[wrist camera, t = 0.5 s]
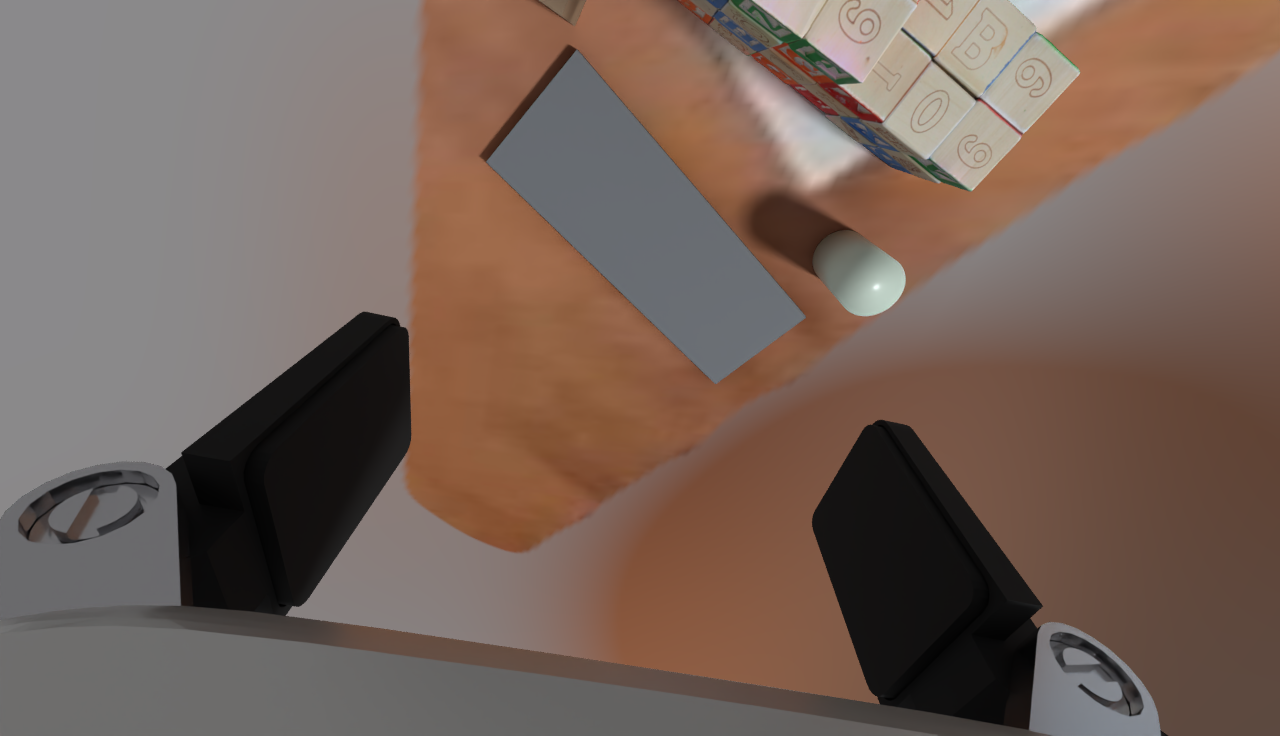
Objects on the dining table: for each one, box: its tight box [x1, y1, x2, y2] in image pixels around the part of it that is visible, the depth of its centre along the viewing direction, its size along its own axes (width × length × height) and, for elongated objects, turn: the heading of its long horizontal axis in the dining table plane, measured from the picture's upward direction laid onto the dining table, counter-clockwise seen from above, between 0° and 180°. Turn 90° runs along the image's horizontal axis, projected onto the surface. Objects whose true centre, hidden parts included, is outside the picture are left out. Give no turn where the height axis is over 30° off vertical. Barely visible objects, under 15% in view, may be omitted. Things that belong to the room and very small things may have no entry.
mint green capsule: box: [812, 230, 906, 316], centre depth 33 cm, size 4×4×6 cm
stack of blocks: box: [678, 0, 1080, 191], centre depth 23 cm, size 21×6×12 cm, turn 58°
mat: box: [486, 50, 806, 384], centre depth 35 cm, size 9×24×1 cm, turn 44°
